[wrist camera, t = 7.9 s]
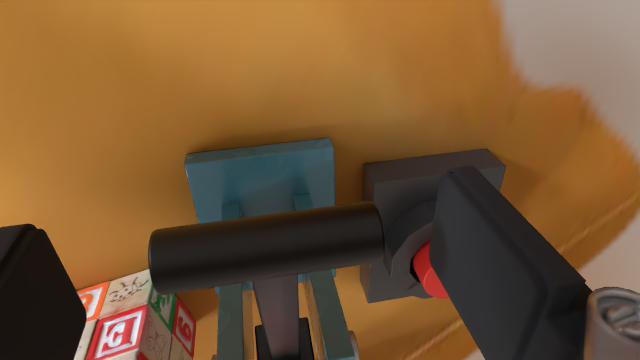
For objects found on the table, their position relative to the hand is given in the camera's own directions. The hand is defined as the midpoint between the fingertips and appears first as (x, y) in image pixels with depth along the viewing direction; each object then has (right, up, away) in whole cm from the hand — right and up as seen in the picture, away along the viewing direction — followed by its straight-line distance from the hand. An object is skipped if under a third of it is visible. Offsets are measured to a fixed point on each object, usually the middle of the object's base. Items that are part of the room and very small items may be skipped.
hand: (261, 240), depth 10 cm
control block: (+8, -1, +18) cm, 20 cm away
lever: (0, -2, +4) cm, 5 cm away
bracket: (-2, -1, +15) cm, 16 cm away
